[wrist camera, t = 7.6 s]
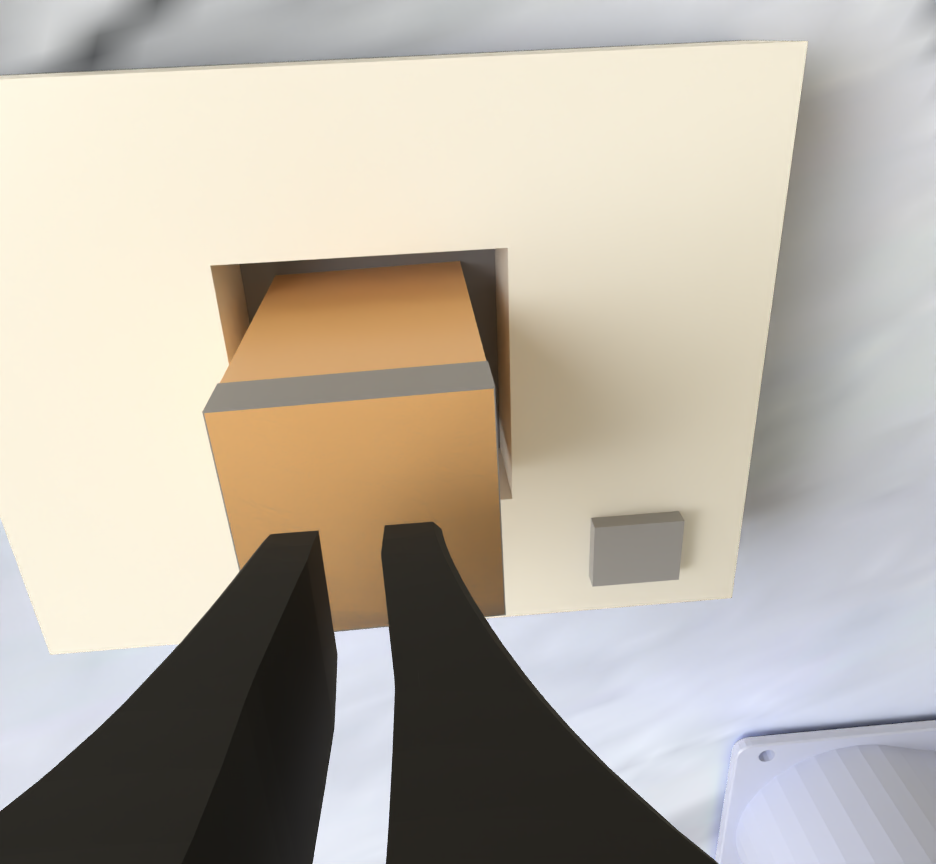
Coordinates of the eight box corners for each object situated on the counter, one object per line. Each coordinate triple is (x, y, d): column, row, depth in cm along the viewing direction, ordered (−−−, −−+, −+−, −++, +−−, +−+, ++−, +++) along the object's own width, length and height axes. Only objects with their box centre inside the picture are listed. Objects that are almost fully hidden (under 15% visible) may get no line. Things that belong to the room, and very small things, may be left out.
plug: (460, 260, 17) (495, 386, 11) (471, 425, 19) (506, 615, 13) (274, 274, 17) (201, 411, 11) (302, 440, 19) (255, 640, 13)
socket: (740, 39, 16) (818, 41, 13) (690, 528, 22) (737, 608, 19) (-61, 77, 15) (-173, 87, 12) (95, 575, 21) (43, 667, 18)
